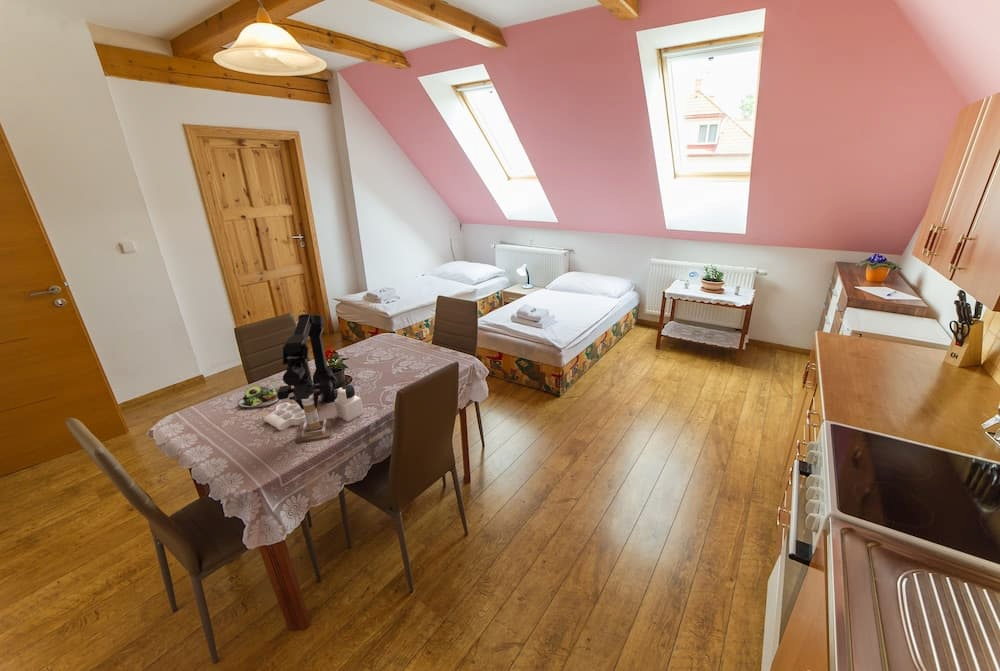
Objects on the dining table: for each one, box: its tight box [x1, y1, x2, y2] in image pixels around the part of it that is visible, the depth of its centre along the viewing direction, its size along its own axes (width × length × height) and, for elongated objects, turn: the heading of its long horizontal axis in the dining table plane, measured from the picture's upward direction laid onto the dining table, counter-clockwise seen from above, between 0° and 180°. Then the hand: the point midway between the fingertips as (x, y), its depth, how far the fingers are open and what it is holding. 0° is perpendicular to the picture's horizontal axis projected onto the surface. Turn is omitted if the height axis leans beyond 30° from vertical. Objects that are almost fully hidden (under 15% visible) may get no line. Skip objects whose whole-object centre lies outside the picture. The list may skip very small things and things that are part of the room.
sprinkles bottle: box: [302, 395, 320, 431], centre depth 163 cm, size 5×5×14 cm
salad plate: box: [238, 385, 281, 409], centre depth 191 cm, size 19×18×5 cm
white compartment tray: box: [263, 402, 307, 431], centre depth 175 cm, size 3×18×15 cm
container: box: [334, 384, 364, 422], centre depth 174 cm, size 8×8×13 cm
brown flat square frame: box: [295, 417, 334, 444], centre depth 166 cm, size 13×12×2 cm
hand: (309, 408), depth 163 cm, fingers closed on sprinkles bottle, 4 cm apart
